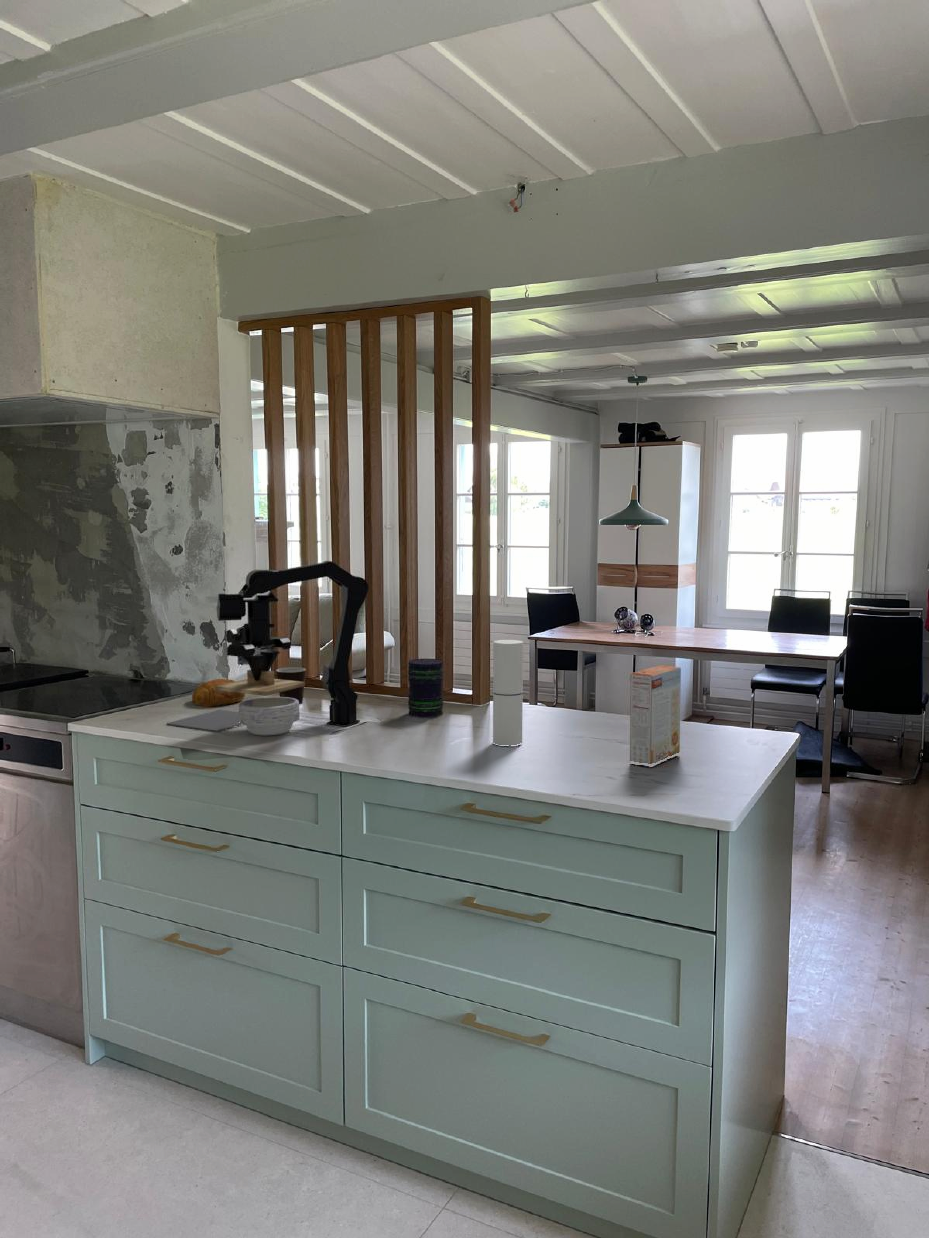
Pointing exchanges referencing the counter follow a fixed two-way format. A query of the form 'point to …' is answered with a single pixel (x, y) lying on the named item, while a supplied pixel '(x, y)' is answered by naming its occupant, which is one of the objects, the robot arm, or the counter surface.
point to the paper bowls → (269, 715)
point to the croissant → (215, 694)
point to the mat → (210, 721)
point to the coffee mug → (292, 675)
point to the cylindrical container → (507, 692)
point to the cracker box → (655, 713)
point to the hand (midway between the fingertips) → (260, 679)
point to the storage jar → (425, 688)
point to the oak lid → (260, 684)
